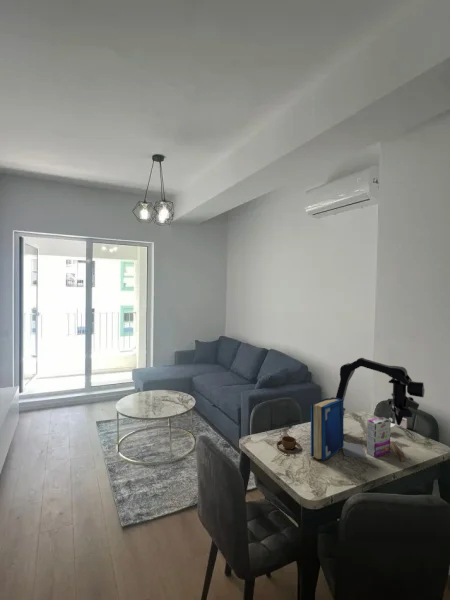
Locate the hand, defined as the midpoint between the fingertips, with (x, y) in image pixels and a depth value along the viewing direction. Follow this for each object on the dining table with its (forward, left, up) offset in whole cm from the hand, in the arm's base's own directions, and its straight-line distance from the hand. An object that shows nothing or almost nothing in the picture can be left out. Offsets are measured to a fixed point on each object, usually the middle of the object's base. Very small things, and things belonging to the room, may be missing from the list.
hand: (398, 424), depth 162 cm
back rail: (-1, -3, -13) cm, 14 cm away
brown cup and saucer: (-48, -11, -14) cm, 52 cm away
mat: (-21, -4, -13) cm, 25 cm away
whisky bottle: (+1, +25, -14) cm, 29 cm away
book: (-33, -10, -13) cm, 37 cm away
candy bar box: (-10, -4, -14) cm, 17 cm away
